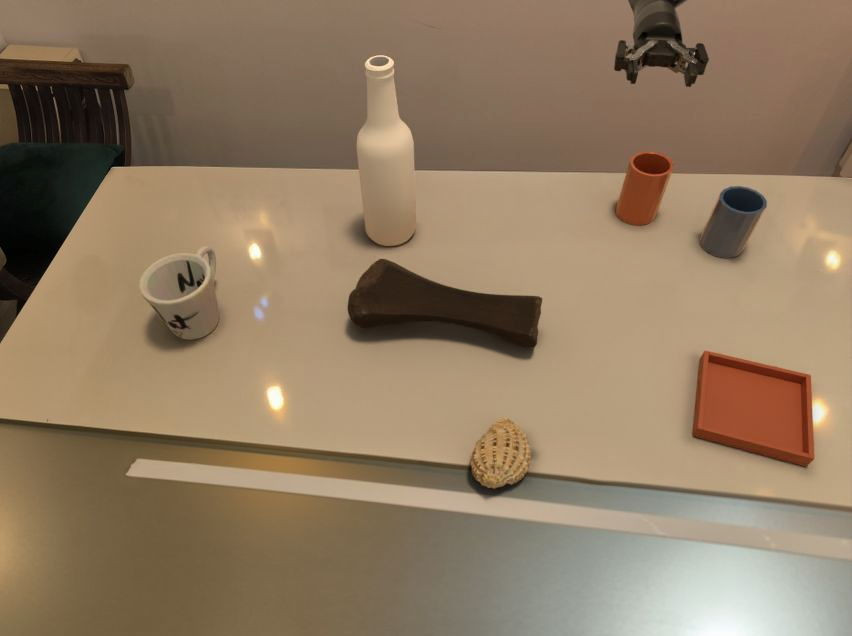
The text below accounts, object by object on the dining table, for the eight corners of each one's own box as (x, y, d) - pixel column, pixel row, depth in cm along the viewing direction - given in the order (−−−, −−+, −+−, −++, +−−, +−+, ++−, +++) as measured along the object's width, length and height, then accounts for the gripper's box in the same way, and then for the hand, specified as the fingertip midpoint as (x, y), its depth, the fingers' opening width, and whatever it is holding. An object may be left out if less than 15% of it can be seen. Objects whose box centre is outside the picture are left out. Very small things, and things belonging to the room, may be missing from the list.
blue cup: (743, 235, 100) (767, 190, 93) (742, 261, 97) (766, 217, 90) (700, 227, 102) (720, 182, 95) (698, 253, 98) (718, 208, 91)
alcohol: (367, 215, 109) (349, 47, 86) (416, 214, 108) (411, 44, 85) (364, 248, 104) (344, 79, 80) (415, 247, 103) (410, 76, 80)
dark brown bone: (349, 328, 95) (525, 368, 93) (340, 314, 85) (538, 358, 82) (365, 263, 97) (539, 300, 94) (358, 241, 87) (554, 282, 84)
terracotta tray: (803, 383, 82) (811, 374, 80) (806, 466, 75) (814, 459, 73) (699, 358, 86) (704, 350, 84) (692, 436, 78) (697, 428, 77)
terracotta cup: (657, 204, 106) (675, 155, 98) (653, 228, 103) (671, 179, 95) (618, 197, 108) (633, 148, 100) (612, 221, 104) (627, 171, 96)
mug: (150, 340, 94) (124, 295, 86) (196, 273, 102) (176, 228, 94) (209, 353, 91) (188, 309, 84) (251, 284, 100) (236, 238, 92)
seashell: (467, 448, 82) (471, 497, 73) (468, 410, 80) (472, 456, 71) (525, 449, 82) (536, 498, 73) (528, 411, 79) (540, 458, 70)
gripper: (619, 9, 105) (622, 54, 96) (707, 11, 103) (718, 58, 93) (609, 52, 111) (610, 99, 102) (692, 55, 109) (701, 104, 99)
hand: (662, 80), depth 98 cm, fingers open, 8 cm apart
